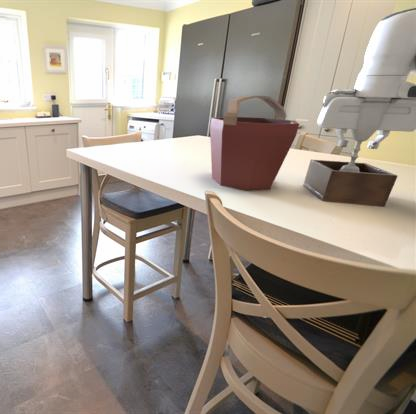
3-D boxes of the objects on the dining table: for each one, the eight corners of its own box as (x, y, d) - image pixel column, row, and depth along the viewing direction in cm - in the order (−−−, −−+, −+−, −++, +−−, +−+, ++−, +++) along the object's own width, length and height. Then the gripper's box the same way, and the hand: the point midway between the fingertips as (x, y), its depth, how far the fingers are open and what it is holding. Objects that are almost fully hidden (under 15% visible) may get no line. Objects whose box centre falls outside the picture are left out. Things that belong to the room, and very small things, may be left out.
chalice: (362, 179, 71) (389, 103, 64) (329, 174, 76) (351, 102, 69) (367, 174, 75) (393, 103, 69) (336, 169, 80) (357, 102, 73)
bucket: (225, 195, 76) (244, 95, 67) (186, 173, 96) (197, 94, 87) (301, 190, 81) (329, 97, 71) (249, 170, 101) (266, 95, 91)
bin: (355, 190, 82) (365, 163, 79) (384, 206, 70) (398, 175, 67) (303, 185, 86) (310, 159, 83) (322, 200, 73) (331, 170, 70)
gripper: (333, 88, 67) (315, 147, 73) (439, 90, 63) (413, 152, 68) (321, 89, 73) (306, 143, 78) (419, 90, 68) (395, 148, 73)
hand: (356, 147), depth 73 cm, fingers closed on chalice, 5 cm apart
